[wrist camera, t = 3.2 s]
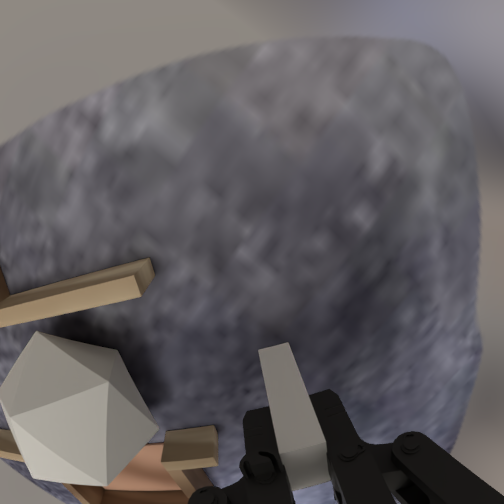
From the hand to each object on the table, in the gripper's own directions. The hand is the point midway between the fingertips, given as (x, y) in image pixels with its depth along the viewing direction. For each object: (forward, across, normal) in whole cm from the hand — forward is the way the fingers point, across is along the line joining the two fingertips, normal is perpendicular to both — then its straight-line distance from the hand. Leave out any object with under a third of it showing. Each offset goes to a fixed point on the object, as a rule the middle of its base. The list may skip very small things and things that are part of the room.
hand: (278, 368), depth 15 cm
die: (+3, +12, 0) cm, 12 cm away
